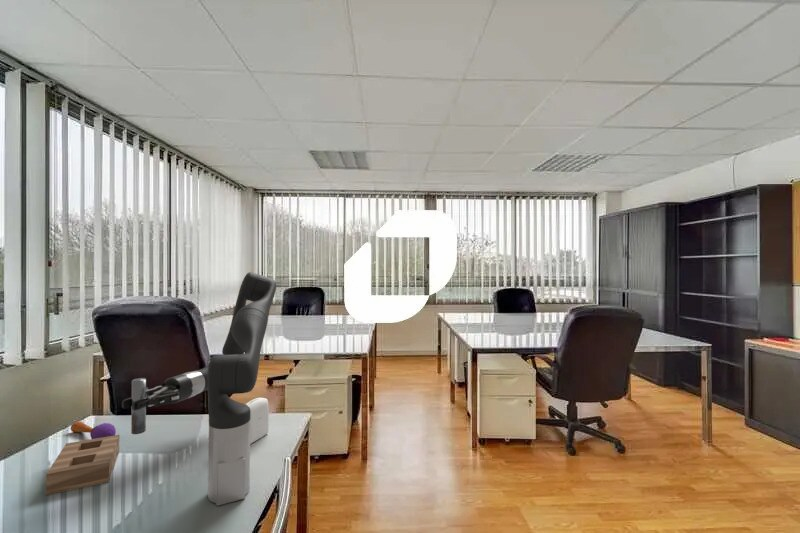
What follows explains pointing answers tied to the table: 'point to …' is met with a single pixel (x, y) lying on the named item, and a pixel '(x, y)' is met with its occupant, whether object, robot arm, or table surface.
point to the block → (83, 464)
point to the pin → (138, 415)
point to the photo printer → (258, 418)
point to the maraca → (94, 429)
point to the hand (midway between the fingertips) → (128, 405)
